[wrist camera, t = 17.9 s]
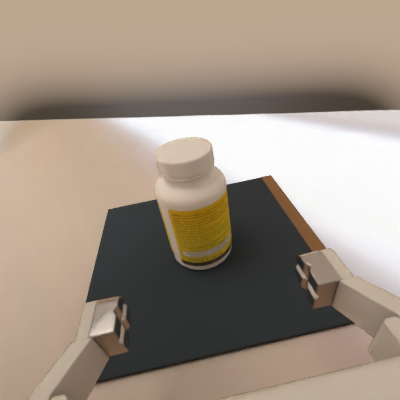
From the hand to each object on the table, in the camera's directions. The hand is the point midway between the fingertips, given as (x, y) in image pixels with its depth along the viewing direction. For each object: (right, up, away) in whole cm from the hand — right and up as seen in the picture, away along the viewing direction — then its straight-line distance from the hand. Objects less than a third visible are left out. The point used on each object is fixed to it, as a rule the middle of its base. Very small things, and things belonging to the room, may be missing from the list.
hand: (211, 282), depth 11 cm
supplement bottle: (0, -1, +11) cm, 11 cm away
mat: (0, -1, +11) cm, 12 cm away
